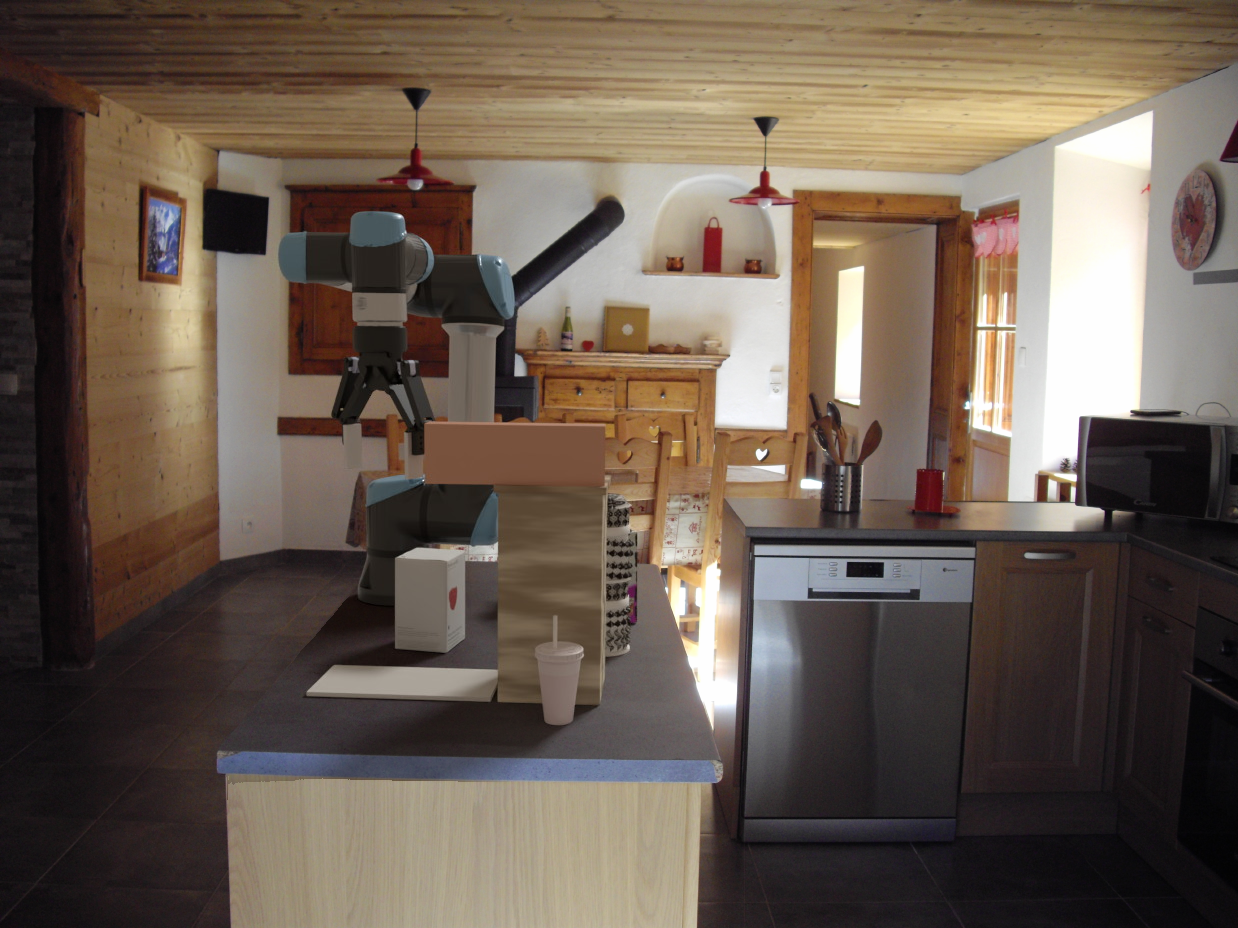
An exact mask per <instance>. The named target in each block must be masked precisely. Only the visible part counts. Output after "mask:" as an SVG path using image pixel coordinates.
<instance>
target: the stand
mask: <svg viewBox="0 0 1238 928" xmlns="http://www.w3.org/2000/svg"><path fill="white" fill-rule="evenodd" d="M611 484H612V474H605V486H565V485H494V493H498V542H497V670H498V687H497V702H498V703H514V704H515V703H517V704H518V703H519V704H521V703H522V704H523V703H525V704H543V703H542V694H541V686H540V677H539V670H538V660H537V658H536V657H535V648H536V647H537V646H538V645H540V644H543V643H547V642H553V615H557V641H562V642H572V643H576V644H579V645H581V646H582V647H583V654H584V657H583V658H582V659H581V663H580V670H579V678H578V685H577V692H576V700H575V705H581V706H582V705H583V706H584V705H585V706H590V705H591V706H600V705H601V701H602V695H603V689H604V685H605V683H604V682H605V679H606V657H605V632H606V563H607V494H608V493H609V489H610V486H611Z"/></svg>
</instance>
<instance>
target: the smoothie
mask: <svg viewBox="0 0 1238 928" xmlns="http://www.w3.org/2000/svg"><path fill="white" fill-rule="evenodd" d="M535 657H536V658H537V660H538V670H539V677H540V686H541V694H542V703H541V704H542V711H543V717H544V722H545V723H546V724H548V725H553V726H565V725H569V724H571V723H572V722H573V721H574V714H575V713H574V712H575V705H576V704H575V700H576V692H577V685H578V678H579V670H580V663H581V659H582V658H583V657H584V654H583V647H582V646H581V645H579V644H576V643H572V642H562V641H557V615H553V642H547V643H543V644H540V645H538V646H537V647H536V648H535Z"/></svg>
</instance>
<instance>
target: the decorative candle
mask: <svg viewBox="0 0 1238 928" xmlns="http://www.w3.org/2000/svg"><path fill="white" fill-rule="evenodd" d="M632 506H633V505H632V504H631V503H629V502H628V500H627V498H626V497H625V496H624V495H623V494H620V493H613V492H612V493H610V492H608V494H607V563H606V632H605V658H607V657H618V656H619V657H620V656H623V655H626V654H627V653H628V652H630V650H631V648H630V643H631V636H630V634H631V633H632V631H631V630H632V628H631V627H630V626H629V624H627V623H628V622H630V621H631V617H630V616H629V615H628V613H630V612H631V607H630V606H629V595H628V581H629V580H630V579H631V577H632V573H630V572H629V571H628V569H630V568H632V567H633V565H632V563H630V562H629V561H628V556H629V558H630V556H632V555H633V554H634V553H633V551H632V550H628V547H632V546H633V545H634V542H633V541H631V540H630V539H629V541H628V534H630V532H632V530H633V529H631V523H630V507H632Z"/></svg>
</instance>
